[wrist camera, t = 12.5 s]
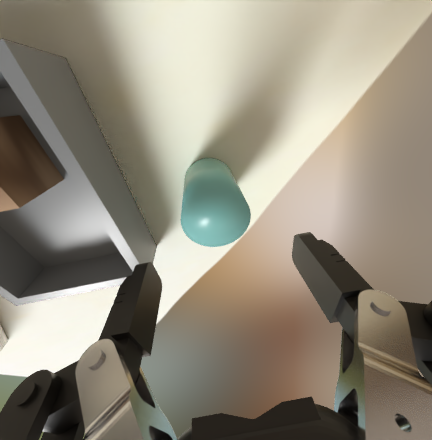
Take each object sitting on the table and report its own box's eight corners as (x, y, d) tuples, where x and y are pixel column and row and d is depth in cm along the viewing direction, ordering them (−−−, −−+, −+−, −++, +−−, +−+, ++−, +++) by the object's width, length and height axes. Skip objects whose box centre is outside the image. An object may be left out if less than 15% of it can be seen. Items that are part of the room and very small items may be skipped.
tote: (-133, 97, 12) (-293, 98, 8) (65, 57, 12) (3, 38, 8) (47, 268, 23) (16, 305, 19) (156, 246, 23) (148, 279, 19)
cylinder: (178, 163, 17) (171, 197, 12) (229, 153, 17) (248, 181, 12) (190, 207, 20) (190, 251, 14) (235, 198, 20) (252, 239, 14)
